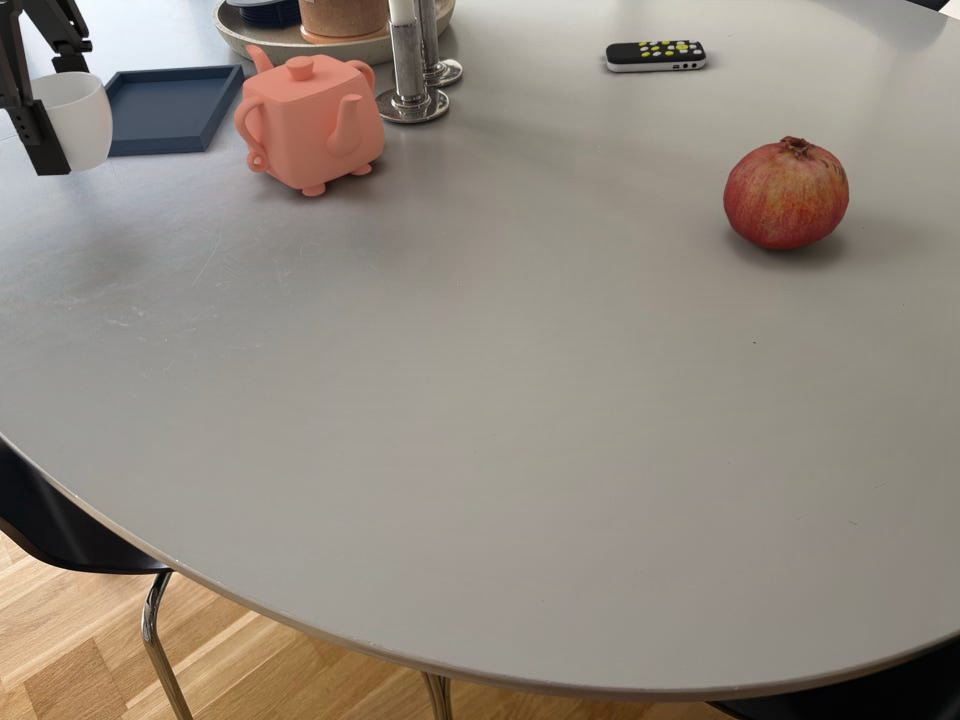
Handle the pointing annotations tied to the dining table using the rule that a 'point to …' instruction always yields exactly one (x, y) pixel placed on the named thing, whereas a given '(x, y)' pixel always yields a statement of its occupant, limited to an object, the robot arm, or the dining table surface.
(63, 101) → the cup
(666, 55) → the remote control
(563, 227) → the dining table surface
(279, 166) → the teapot
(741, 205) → the fruit
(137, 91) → the tray
